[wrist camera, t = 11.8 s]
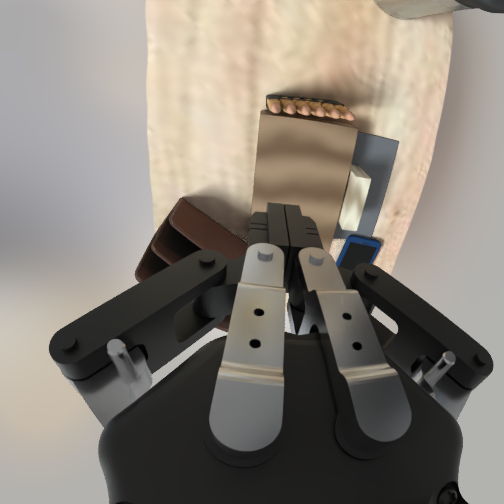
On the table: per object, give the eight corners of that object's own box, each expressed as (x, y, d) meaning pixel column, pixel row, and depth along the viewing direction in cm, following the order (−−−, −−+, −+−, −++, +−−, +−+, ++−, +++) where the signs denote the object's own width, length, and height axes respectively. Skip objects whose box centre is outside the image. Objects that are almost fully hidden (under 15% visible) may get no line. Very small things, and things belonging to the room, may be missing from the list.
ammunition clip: (265, 106, 38) (267, 118, 29) (266, 94, 37) (268, 102, 28) (335, 112, 38) (360, 127, 29) (336, 101, 37) (362, 112, 28)
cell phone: (323, 287, 59) (324, 290, 58) (348, 233, 50) (349, 235, 50) (354, 292, 59) (354, 294, 59) (381, 240, 51) (382, 243, 50)
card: (355, 176, 38) (371, 179, 38) (345, 163, 43) (359, 165, 43) (342, 229, 43) (356, 231, 43) (334, 211, 48) (347, 213, 48)
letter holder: (235, 286, 59) (230, 340, 48) (154, 233, 52) (128, 282, 41) (268, 256, 55) (269, 311, 43) (181, 196, 48) (156, 241, 36)
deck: (260, 110, 39) (260, 114, 36) (350, 124, 39) (358, 129, 36) (249, 234, 52) (248, 246, 48) (324, 241, 52) (328, 253, 49)
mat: (349, 129, 40) (349, 130, 40) (398, 141, 40) (398, 141, 40) (325, 236, 51) (325, 237, 51) (369, 241, 52) (369, 241, 51)
